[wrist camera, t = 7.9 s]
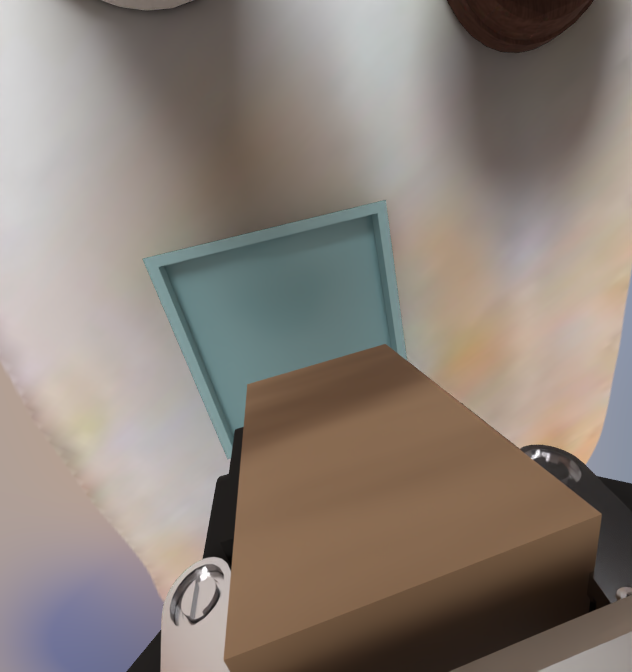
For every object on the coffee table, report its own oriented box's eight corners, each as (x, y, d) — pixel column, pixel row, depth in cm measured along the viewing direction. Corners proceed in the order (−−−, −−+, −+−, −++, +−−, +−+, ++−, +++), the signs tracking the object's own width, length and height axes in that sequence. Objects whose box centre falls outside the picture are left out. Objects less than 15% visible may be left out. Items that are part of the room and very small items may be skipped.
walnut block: (247, 384, 10) (223, 660, 3) (385, 343, 10) (602, 514, 4) (285, 493, 12) (320, 822, 5) (403, 454, 12) (575, 705, 5)
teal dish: (154, 256, 18) (142, 258, 16) (373, 203, 19) (385, 199, 17) (230, 440, 22) (227, 459, 21) (400, 387, 24) (412, 400, 22)
